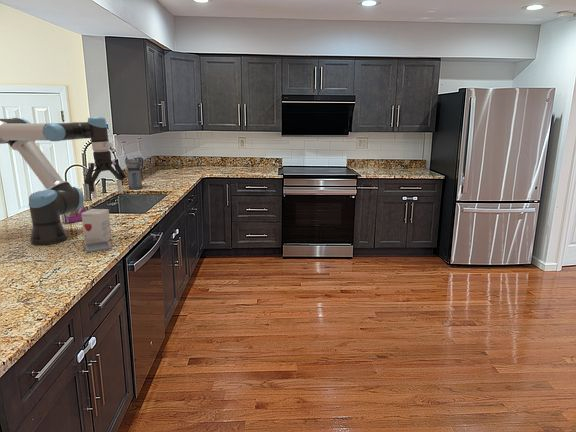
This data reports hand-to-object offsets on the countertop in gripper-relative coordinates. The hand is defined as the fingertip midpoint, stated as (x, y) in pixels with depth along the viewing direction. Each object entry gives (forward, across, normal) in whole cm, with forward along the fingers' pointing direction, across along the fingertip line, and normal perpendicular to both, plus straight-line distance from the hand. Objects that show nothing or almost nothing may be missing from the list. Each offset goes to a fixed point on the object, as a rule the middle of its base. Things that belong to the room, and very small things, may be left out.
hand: (108, 195), depth 198 cm
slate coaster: (+21, -15, -10) cm, 28 cm away
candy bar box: (+19, +5, +44) cm, 48 cm away
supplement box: (+21, -9, -1) cm, 23 cm away
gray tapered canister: (+18, +86, +96) cm, 130 cm away
